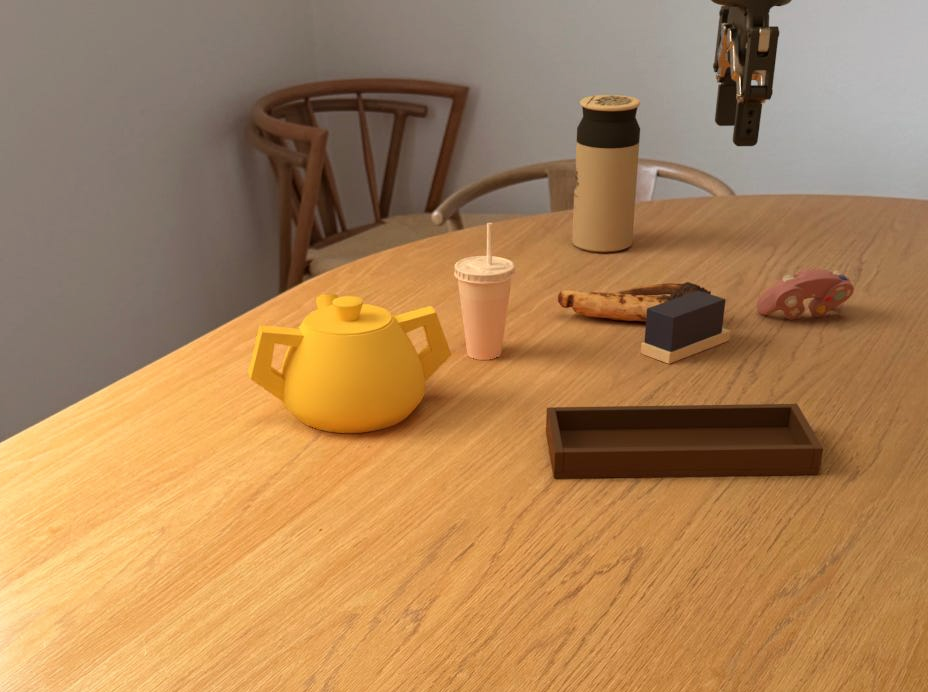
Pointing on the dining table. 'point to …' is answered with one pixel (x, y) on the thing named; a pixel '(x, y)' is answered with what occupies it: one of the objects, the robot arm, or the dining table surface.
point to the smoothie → (484, 300)
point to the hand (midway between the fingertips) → (734, 134)
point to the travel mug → (606, 173)
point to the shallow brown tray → (681, 441)
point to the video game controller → (806, 293)
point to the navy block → (684, 327)
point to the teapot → (350, 364)
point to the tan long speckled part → (625, 300)
